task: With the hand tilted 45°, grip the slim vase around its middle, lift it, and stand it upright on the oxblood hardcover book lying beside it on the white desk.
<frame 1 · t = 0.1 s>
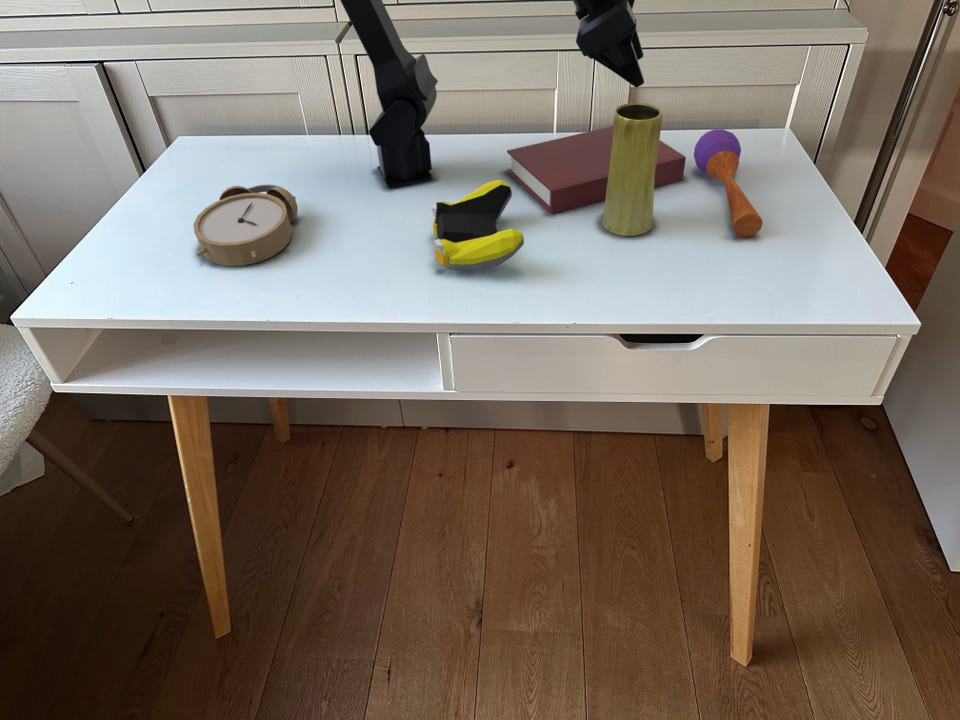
hand: (640, 71, 87), 15 cm above the table, tool tilted 35°, fingers open, 9 cm apart
book: (592, 175, 99), on the table
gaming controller: (476, 249, 86), on the table
vase: (626, 225, 89), on the table
alarm clock: (253, 236, 91), on the table
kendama: (725, 199, 93), on the table
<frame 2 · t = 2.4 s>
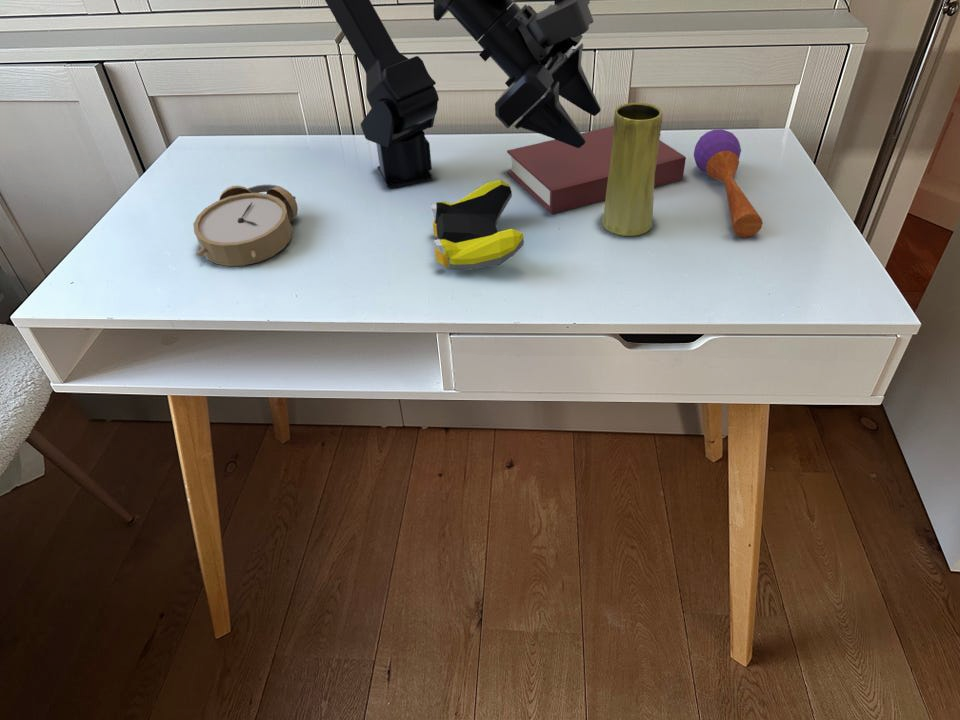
hand: (590, 128, 83), 12 cm above the table, tool tilted 45°, fingers open, 9 cm apart
nothing on the table moved.
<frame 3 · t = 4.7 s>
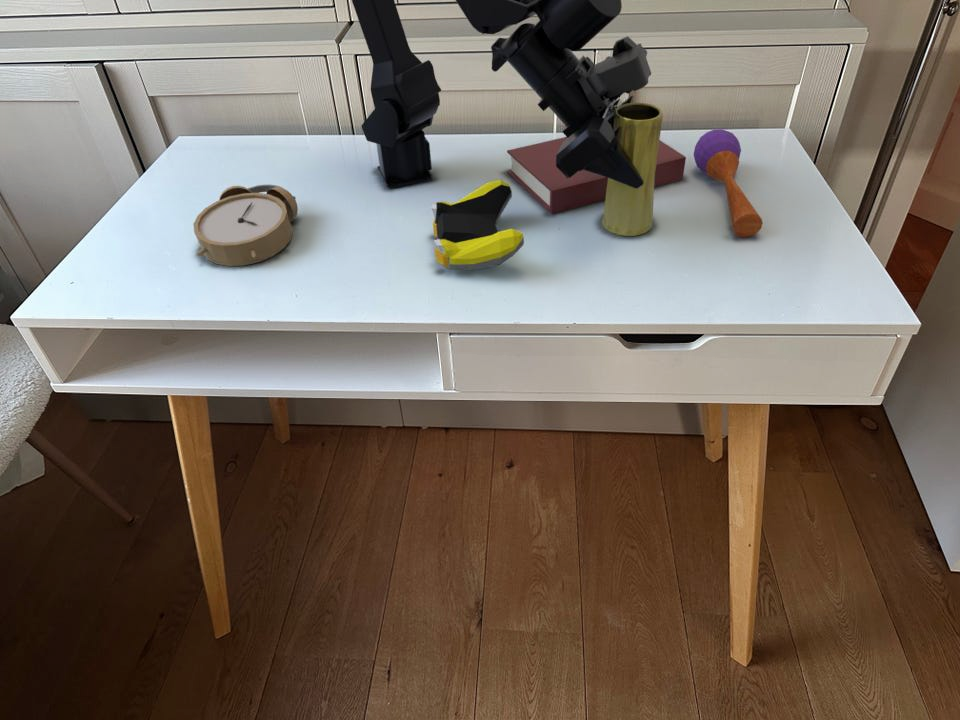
hand: (644, 174, 84), 7 cm above the table, tool tilted 45°, fingers closed on vase, 5 cm apart
vase: (626, 225, 89), on the table, touching gripper
everything else where it was.
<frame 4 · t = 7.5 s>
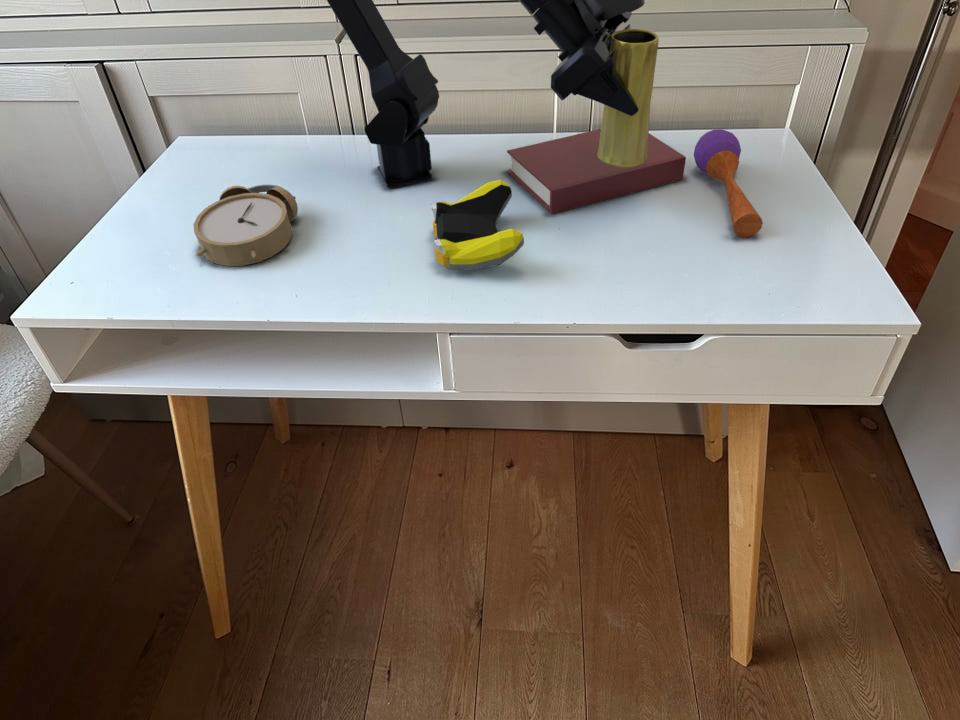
hand: (639, 103, 84), 13 cm above the table, tool tilted 45°, fingers closed on vase, 5 cm apart
vase: (621, 158, 89), point 6 cm above the table, touching gripper
everything else where it was.
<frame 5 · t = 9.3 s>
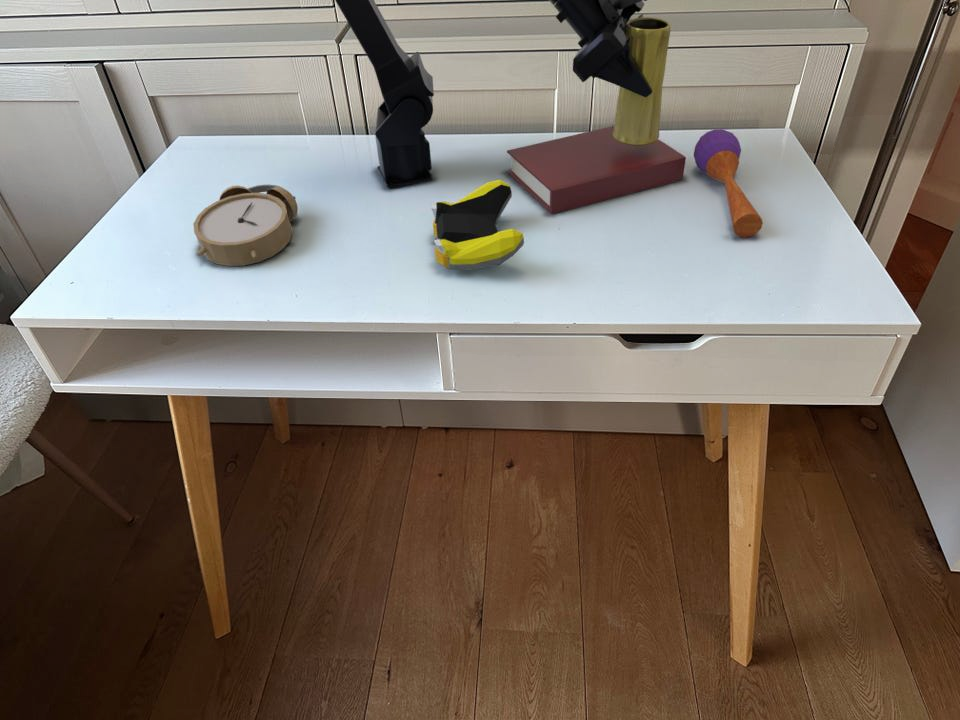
hand: (652, 86, 91), 12 cm above the table, tool tilted 45°, fingers closed on vase, 5 cm apart
vase: (635, 138, 96), point 5 cm above the table, touching gripper
everything else where it was.
when the fingers open (10 cm above the table, at t = 10.4 s): vase stays where it is, resting on book.
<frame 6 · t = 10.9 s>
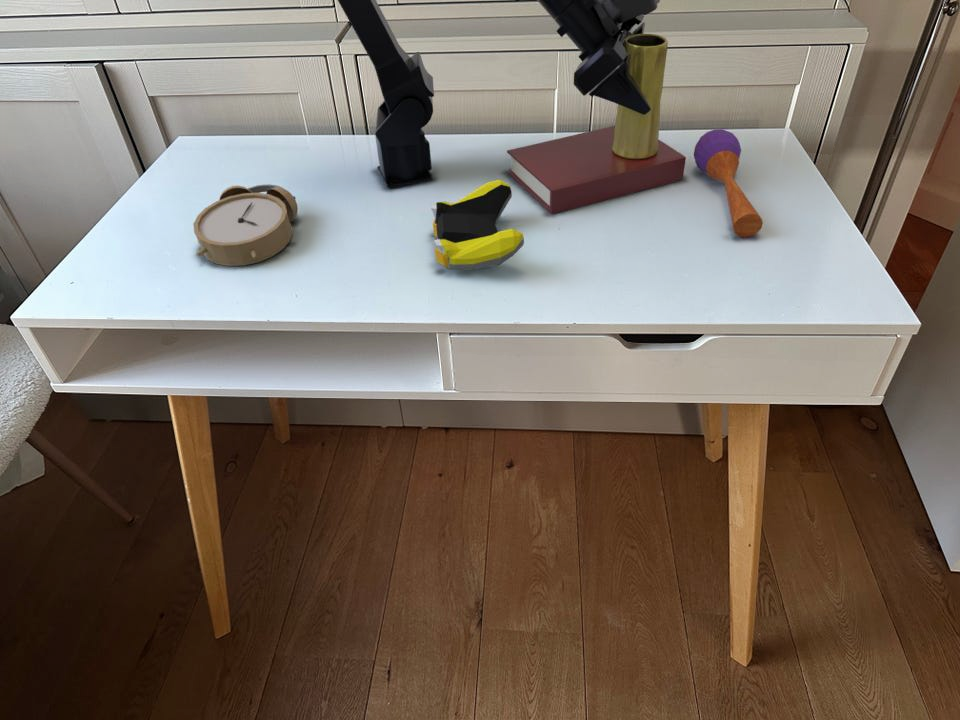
hand: (652, 98, 92), 10 cm above the table, tool tilted 45°, fingers open, 9 cm apart
vase: (634, 151, 97), point 3 cm above the table, touching book
everything else where it was.
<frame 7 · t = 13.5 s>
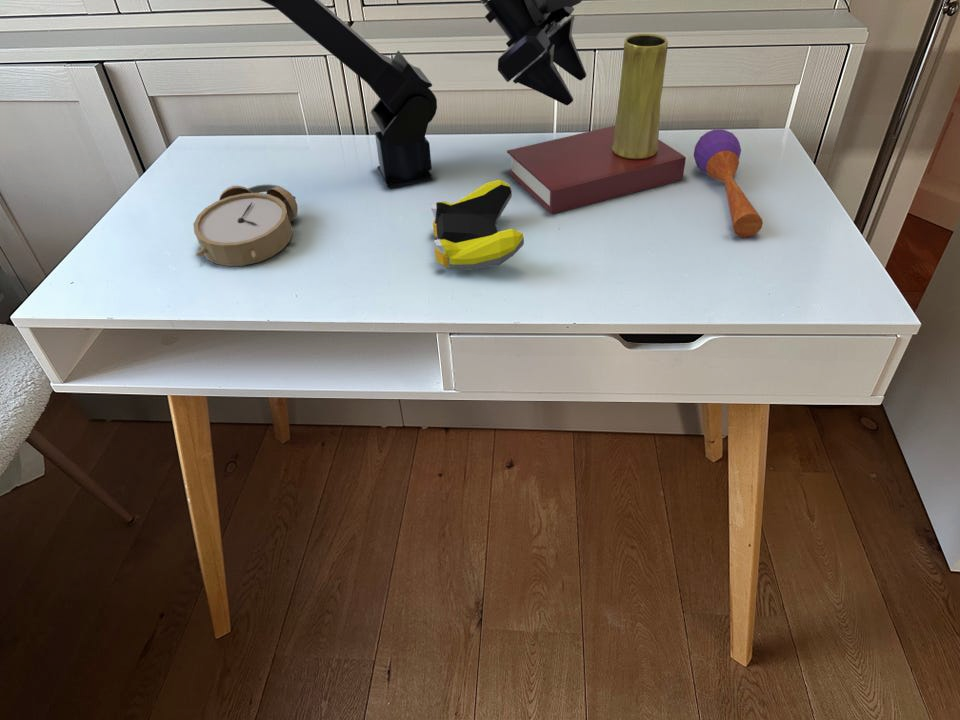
hand: (577, 90, 94), 11 cm above the table, tool tilted 40°, fingers open, 9 cm apart
nothing on the table moved.
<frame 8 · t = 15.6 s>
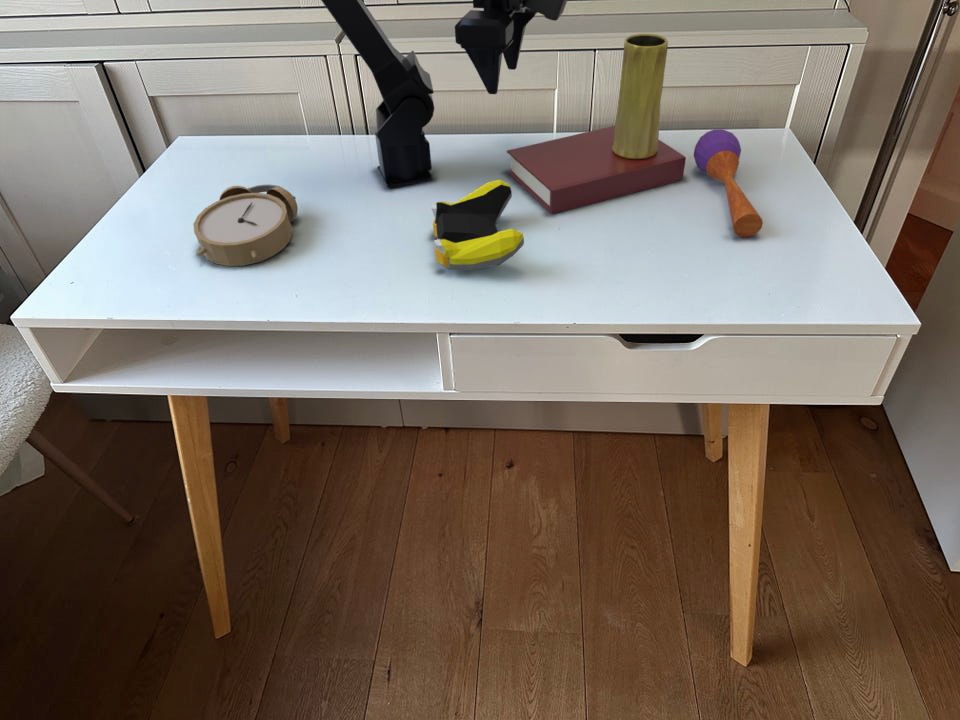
hand: (502, 81, 95), 12 cm above the table, tool pointing down, fingers open, 9 cm apart
nothing on the table moved.
at the end: vase inside the target area on the book (5.0 cm from its centre), point 3.1 cm above the book's base; vase tilted 0°; the gripper is holding nothing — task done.
